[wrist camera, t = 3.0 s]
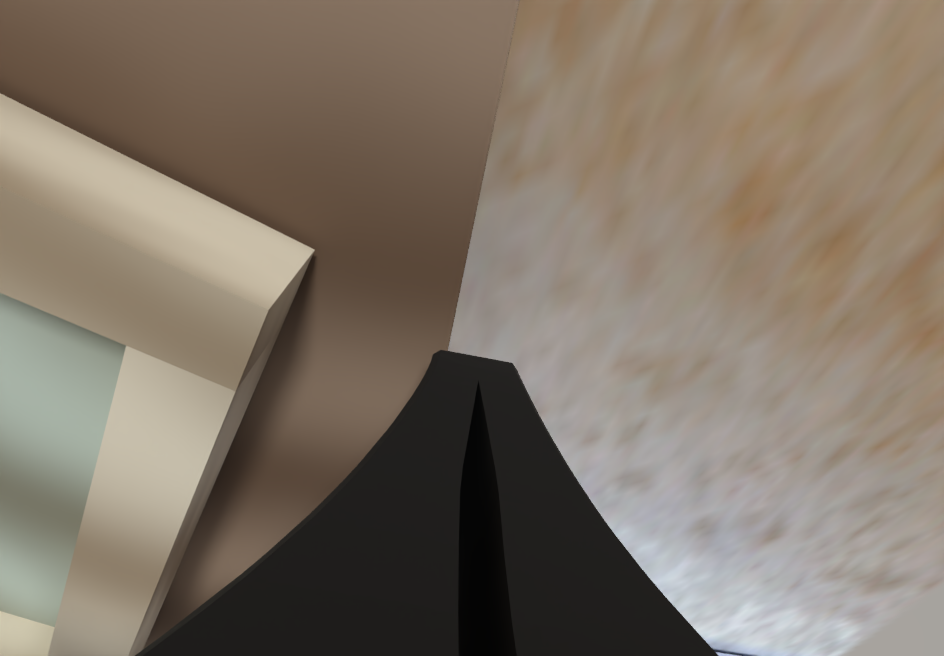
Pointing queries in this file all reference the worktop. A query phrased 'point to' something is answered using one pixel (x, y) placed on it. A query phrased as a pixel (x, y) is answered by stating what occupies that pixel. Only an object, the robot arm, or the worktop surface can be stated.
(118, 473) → the picture frame
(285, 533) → the walnut board
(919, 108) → the worktop surface
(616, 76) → the worktop surface
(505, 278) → the worktop surface
